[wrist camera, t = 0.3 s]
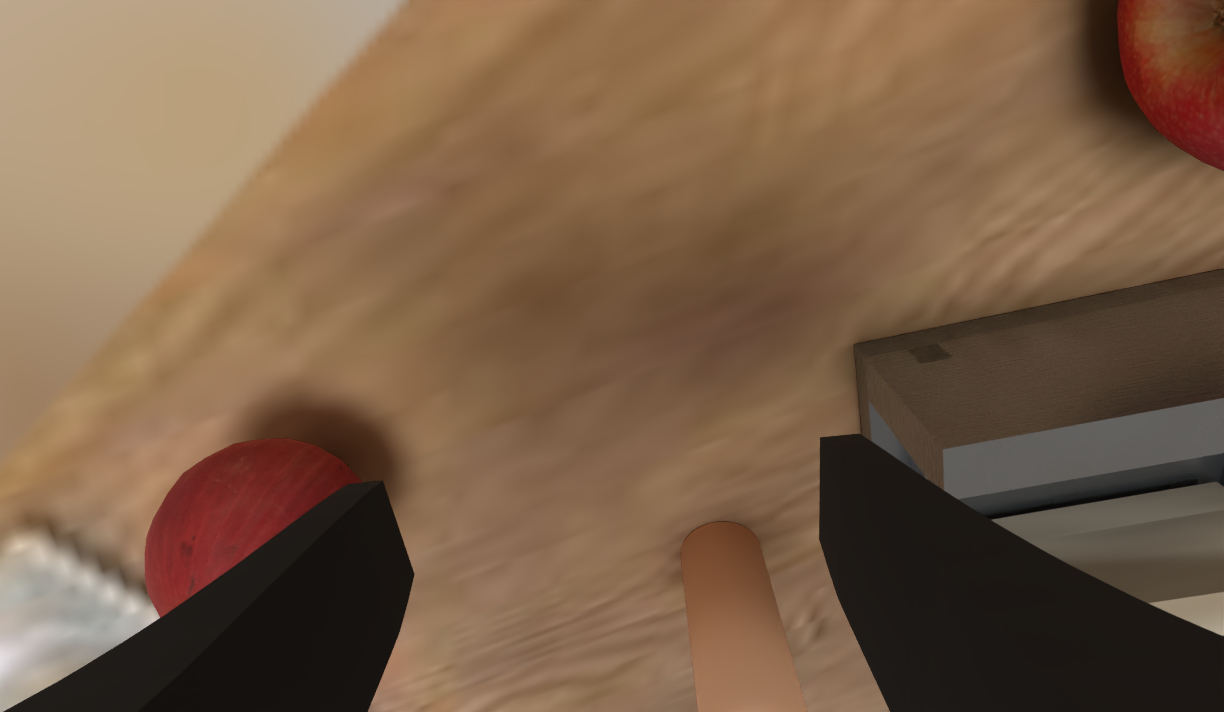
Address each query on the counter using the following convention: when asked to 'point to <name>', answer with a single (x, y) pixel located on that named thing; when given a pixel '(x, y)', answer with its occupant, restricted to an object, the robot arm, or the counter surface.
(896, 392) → the slide base
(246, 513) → the onion
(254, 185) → the counter surface
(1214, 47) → the apple
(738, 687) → the dowel
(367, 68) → the counter surface
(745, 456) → the counter surface
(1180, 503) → the sliding block
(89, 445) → the counter surface
